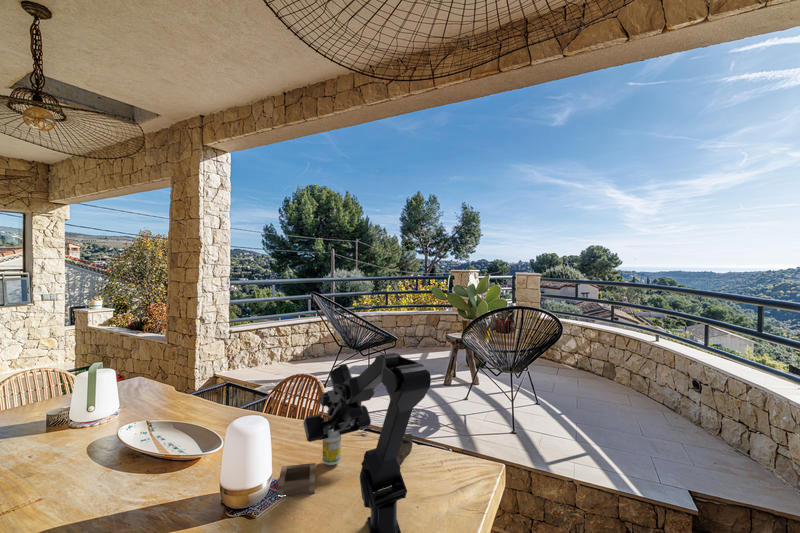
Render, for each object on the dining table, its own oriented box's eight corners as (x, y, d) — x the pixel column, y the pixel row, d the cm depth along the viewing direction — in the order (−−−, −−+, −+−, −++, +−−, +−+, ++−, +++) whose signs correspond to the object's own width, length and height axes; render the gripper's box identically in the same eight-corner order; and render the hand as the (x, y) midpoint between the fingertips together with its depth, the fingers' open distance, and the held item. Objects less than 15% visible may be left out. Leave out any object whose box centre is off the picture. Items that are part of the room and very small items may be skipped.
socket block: (314, 493, 87) (314, 481, 87) (277, 497, 85) (277, 485, 86) (315, 473, 96) (315, 462, 96) (281, 477, 94) (281, 466, 94)
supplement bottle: (342, 463, 100) (342, 430, 100) (323, 466, 98) (323, 432, 98) (339, 454, 105) (340, 422, 105) (321, 457, 103) (322, 424, 104)
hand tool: (394, 477, 95) (395, 460, 96) (382, 474, 97) (382, 457, 97) (419, 448, 113) (419, 433, 113) (408, 445, 114) (408, 431, 114)
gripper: (367, 378, 104) (351, 404, 113) (306, 388, 94) (293, 416, 103) (379, 413, 97) (361, 438, 106) (315, 427, 87) (301, 454, 96)
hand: (330, 435), depth 103 cm, fingers closed on supplement bottle, 5 cm apart
